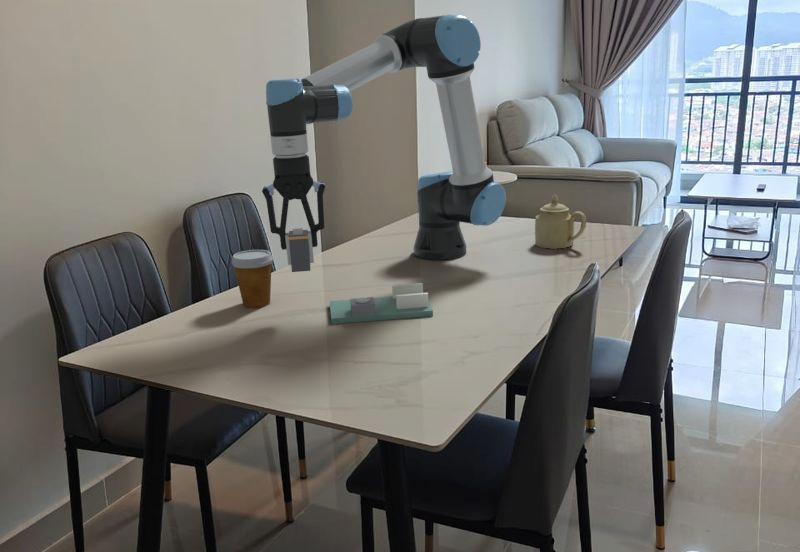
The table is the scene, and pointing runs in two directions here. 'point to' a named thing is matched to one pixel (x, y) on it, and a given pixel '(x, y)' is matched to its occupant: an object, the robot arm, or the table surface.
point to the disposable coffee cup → (253, 276)
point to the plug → (299, 250)
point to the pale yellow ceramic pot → (556, 226)
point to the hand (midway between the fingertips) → (301, 261)
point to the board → (383, 306)
